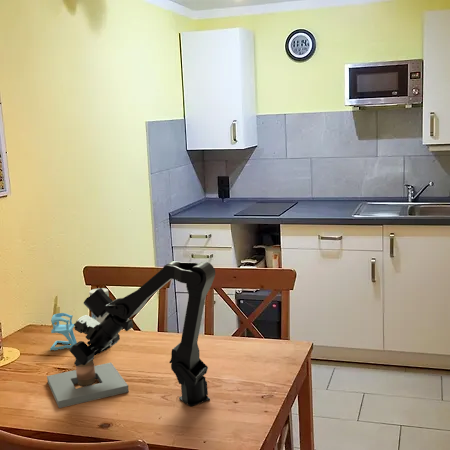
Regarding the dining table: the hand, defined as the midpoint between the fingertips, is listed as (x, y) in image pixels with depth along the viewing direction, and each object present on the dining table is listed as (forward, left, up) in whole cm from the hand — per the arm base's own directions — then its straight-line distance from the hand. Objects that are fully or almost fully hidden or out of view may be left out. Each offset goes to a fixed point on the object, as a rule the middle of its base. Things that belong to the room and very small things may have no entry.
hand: (80, 361), depth 187 cm
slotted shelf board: (+1, -1, -8) cm, 8 cm away
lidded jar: (+1, -1, -7) cm, 7 cm away
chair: (+8, +37, -8) cm, 39 cm away
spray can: (+19, +28, -8) cm, 35 cm away
